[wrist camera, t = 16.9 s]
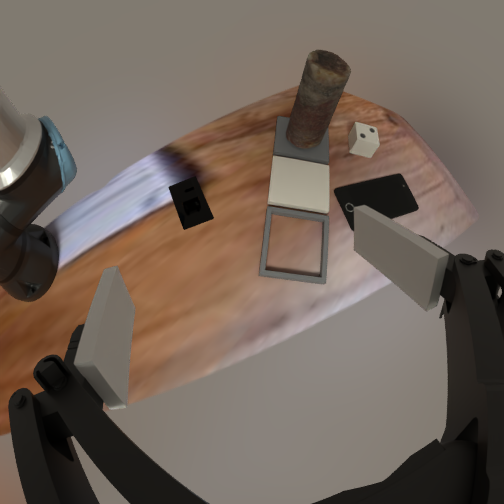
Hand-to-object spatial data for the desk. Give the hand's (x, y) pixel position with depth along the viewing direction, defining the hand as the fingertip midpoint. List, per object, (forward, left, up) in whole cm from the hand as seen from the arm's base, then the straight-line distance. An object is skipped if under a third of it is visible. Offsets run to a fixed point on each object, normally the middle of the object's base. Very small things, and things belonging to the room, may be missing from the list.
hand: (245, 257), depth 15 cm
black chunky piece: (-11, +18, -32) cm, 39 cm away
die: (+21, +37, -32) cm, 53 cm away
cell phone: (+25, +25, -32) cm, 48 cm away
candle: (+8, +35, -31) cm, 48 cm away
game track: (+8, +23, -32) cm, 40 cm away
